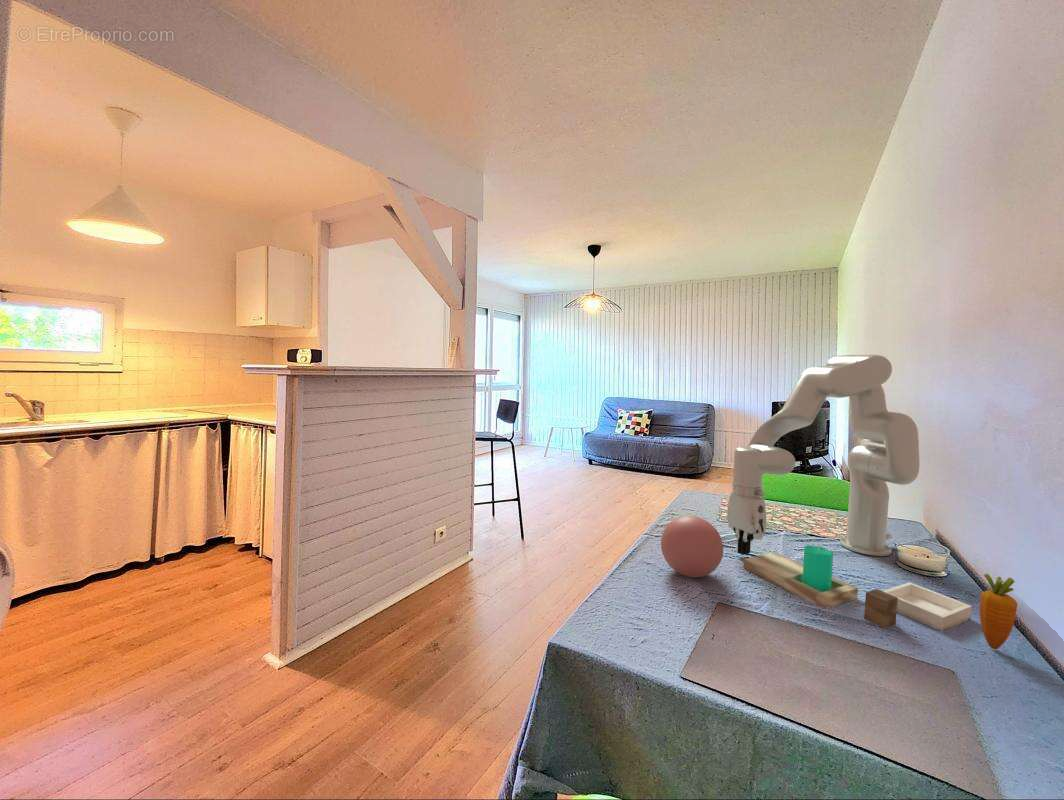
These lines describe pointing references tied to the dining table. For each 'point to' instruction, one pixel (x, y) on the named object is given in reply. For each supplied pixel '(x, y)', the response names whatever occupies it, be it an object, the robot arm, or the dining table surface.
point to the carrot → (997, 611)
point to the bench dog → (880, 608)
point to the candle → (817, 567)
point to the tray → (929, 606)
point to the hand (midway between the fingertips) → (743, 553)
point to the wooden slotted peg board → (798, 580)
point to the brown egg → (692, 546)
